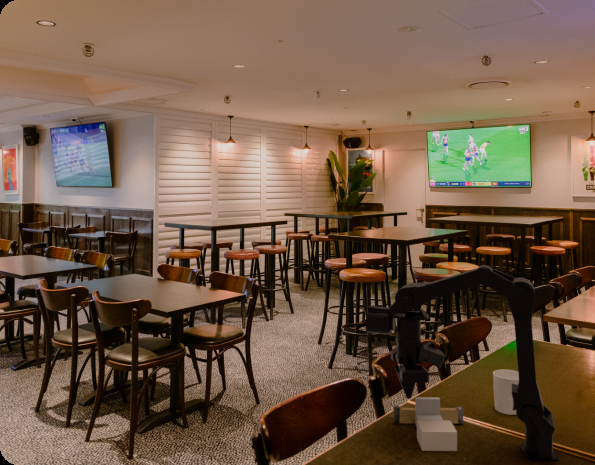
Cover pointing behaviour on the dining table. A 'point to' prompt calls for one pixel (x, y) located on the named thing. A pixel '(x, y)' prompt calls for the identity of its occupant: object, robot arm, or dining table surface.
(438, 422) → the socket block
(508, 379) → the white cup
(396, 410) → the tan long bar
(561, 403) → the dining table surface
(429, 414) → the grey l-shaped block
